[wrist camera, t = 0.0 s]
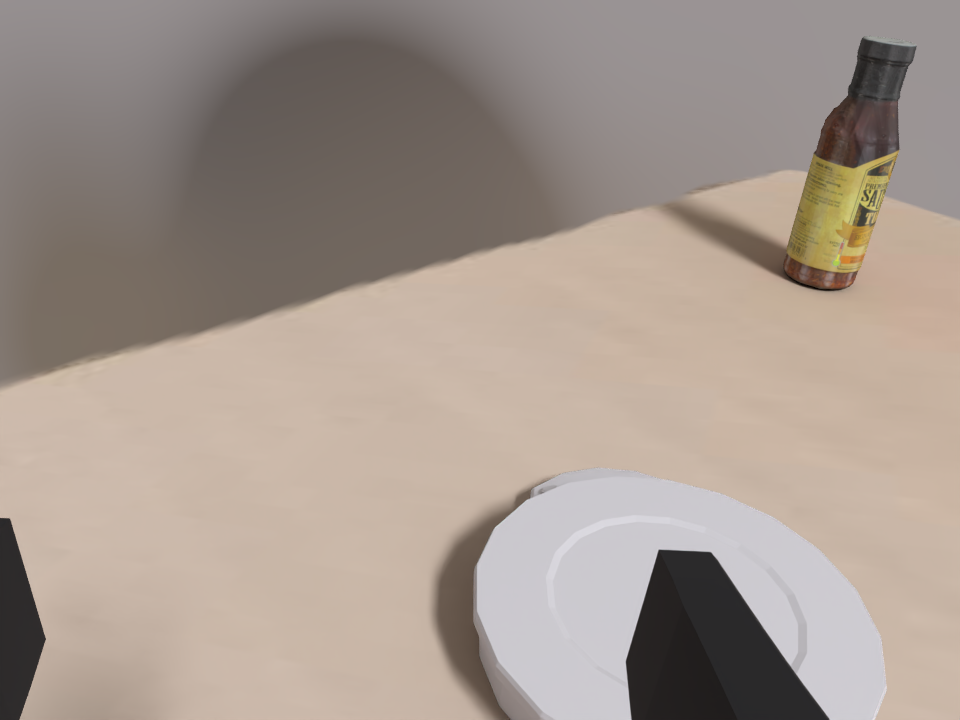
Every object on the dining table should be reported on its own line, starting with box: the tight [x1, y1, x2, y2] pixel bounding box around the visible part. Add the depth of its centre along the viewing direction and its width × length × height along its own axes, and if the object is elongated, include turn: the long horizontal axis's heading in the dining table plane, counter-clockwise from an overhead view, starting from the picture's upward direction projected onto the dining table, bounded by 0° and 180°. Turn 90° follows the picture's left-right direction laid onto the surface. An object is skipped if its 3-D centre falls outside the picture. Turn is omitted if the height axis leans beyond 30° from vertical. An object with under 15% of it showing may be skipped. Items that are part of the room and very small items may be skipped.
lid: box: [473, 468, 887, 720], centre depth 39 cm, size 17×20×3 cm
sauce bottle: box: [784, 36, 916, 289], centre depth 72 cm, size 6×6×20 cm
